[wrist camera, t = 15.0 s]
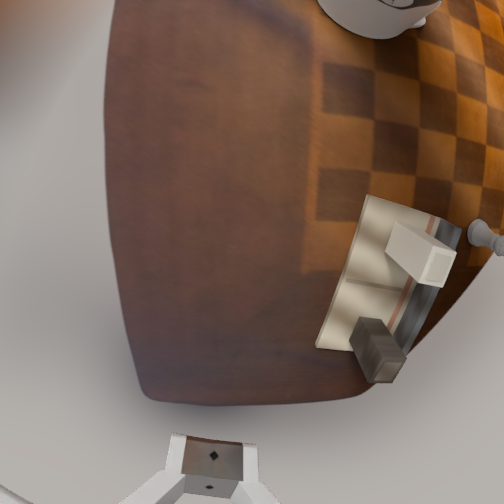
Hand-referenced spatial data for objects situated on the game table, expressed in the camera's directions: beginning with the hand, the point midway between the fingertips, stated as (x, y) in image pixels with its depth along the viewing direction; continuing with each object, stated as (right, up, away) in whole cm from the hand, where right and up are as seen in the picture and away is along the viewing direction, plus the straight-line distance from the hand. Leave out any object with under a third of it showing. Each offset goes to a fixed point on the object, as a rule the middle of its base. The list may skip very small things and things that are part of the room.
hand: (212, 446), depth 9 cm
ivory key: (+22, +9, +29) cm, 38 cm away
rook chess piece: (+38, +10, +31) cm, 50 cm away
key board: (+21, +2, +33) cm, 39 cm away
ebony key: (+19, -5, +34) cm, 39 cm away
